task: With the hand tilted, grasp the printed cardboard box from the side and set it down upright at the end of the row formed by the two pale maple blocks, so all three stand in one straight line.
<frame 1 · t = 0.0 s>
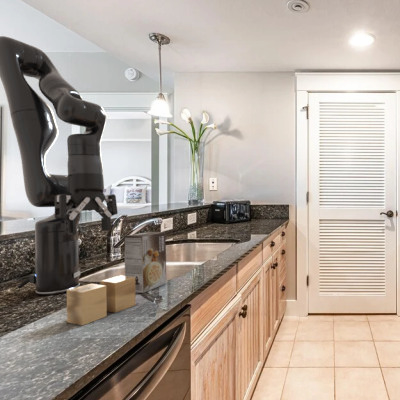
hand: (89, 232, 79), 17 cm above the counter, tool pointing down, fingers open, 8 cm apart
printed cardboard box: (146, 288, 86), on the counter
maple block middle: (118, 307, 71), on the counter
maple block near: (87, 319, 64), on the counter
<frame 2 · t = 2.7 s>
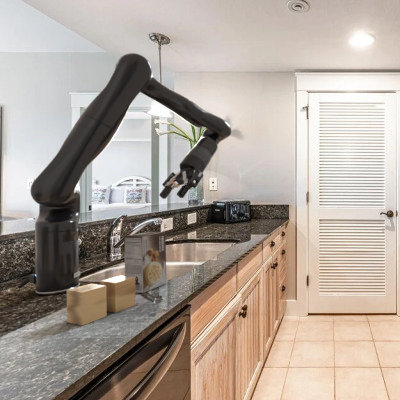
hand: (170, 196, 93), 27 cm above the counter, tool tilted 40°, fingers open, 8 cm apart
nothing on the counter moved.
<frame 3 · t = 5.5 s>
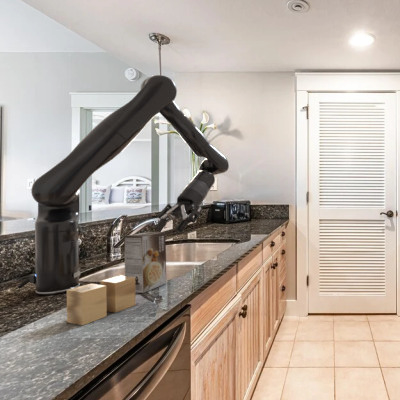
hand: (167, 230, 93), 16 cm above the counter, tool tilted 45°, fingers open, 8 cm apart
nothing on the counter moved.
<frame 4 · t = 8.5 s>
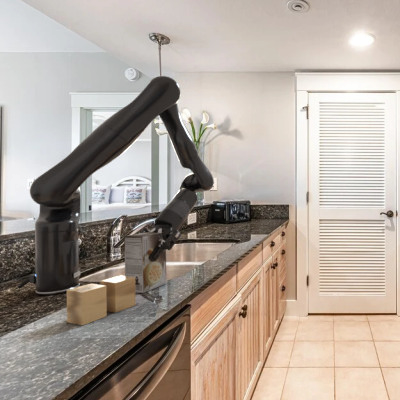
hand: (141, 259, 84), 9 cm above the counter, tool tilted 45°, fingers closed on printed cardboard box, 7 cm apart
printed cardboard box: (146, 288, 86), on the counter, touching gripper
everything else where it was.
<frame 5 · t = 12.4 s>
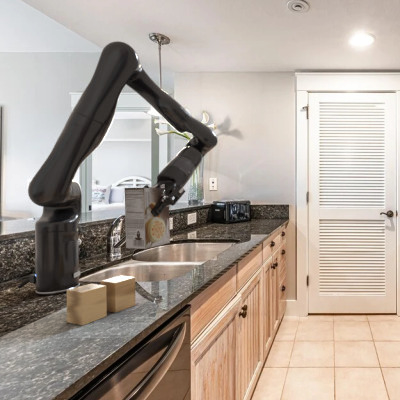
hand: (143, 214, 78), 22 cm above the counter, tool tilted 45°, fingers closed on printed cardboard box, 7 cm apart
printed cardboard box: (148, 246, 80), point 13 cm above the counter, touching gripper
everything else where it was.
when the fingers open (9 cm above the counter, at t = 16.7 s): printed cardboard box stays where it is, on the counter.
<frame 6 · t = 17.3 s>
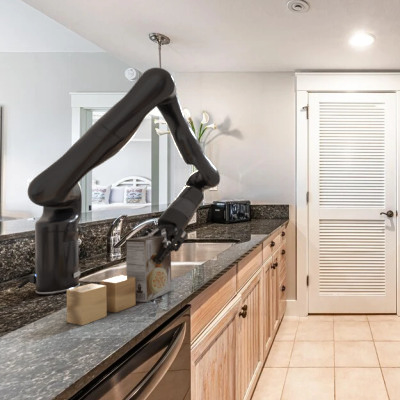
hand: (144, 261, 77), 10 cm above the counter, tool tilted 45°, fingers open, 8 cm apart
printed cardboard box: (150, 296, 79), on the counter
everything else where it was.
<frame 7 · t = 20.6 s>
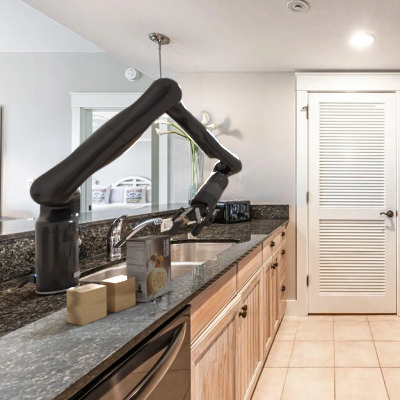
hand: (182, 234, 89), 15 cm above the counter, tool tilted 45°, fingers open, 8 cm apart
nothing on the counter moved.
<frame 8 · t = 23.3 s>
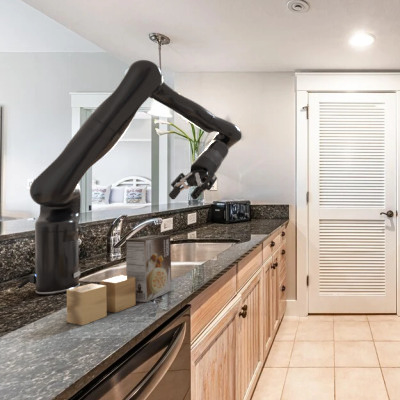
hand: (181, 197, 89), 27 cm above the counter, tool tilted 45°, fingers open, 8 cm apart
nothing on the counter moved.
at the end: printed cardboard box 0.2 cm from the target spot, on the counter; printed cardboard box tilted 0°; maple block middle moved 0.0 cm from its start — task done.
